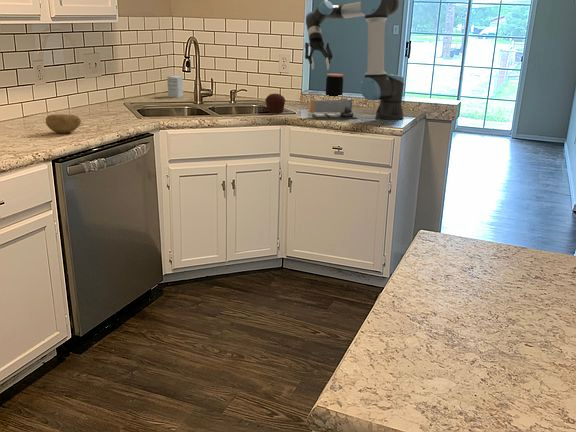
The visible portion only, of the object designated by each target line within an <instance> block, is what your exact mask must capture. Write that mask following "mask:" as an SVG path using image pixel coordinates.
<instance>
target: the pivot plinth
mask: <svg viewBox="0 0 576 432" xmlns="http://www.w3.org/2000/svg"><path fill="white" fill-rule="evenodd" d="M339 113H340V114H337V115H338V116H340V118H341V119H340V120H353V119H354V120H358V117H357V116H355V115H354V112H351V113H345V112H339Z"/></svg>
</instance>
